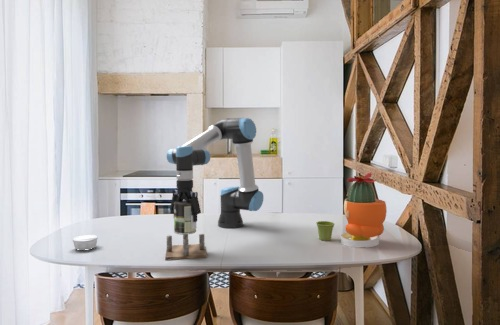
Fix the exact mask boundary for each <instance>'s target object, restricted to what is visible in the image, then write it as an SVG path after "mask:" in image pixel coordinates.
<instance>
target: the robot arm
mask: <svg viewBox="0 0 500 325" xmlns="http://www.w3.org/2000/svg"><path fill="white" fill-rule="evenodd" d="M256 135H257V127H256V124H255V122H254V121H253V120H252V119H251V118H249V117H231V118H223V119H220V120H219V121H217V122H215V123H213V124H211V125H210V126H208V128H207V130H205V131H204V132H202V133H200V134H199V135H197V136H195V137H194V138H191V140H189V141H187V142H186V143H184V144H182V145H179V146H176V148H170V149H169V150H167V152H166V160H167V162H168V163H170V164H172V165H173V164H174V165H176V168H175V169H176V179H177V180H176V188H177V189H174V190H172V197H171V201H170V203H171V204H170V207H169V210H170V211H172V212H173V213H174V202H175V201H177V202H181V201H183V200H186V202H188V204H190V203H193V205H194V206H191V212H192V215H191V229H196V230H197V222H198V215H199V214H202V211H201V206H200V202H199V198H198V195H199V193H198V191H193V187H194V180H193V179H194V166H204V165H208V163H210V162H211V153H210V151H209V150H207V149H206V148H207V147H210V145H212V144H214V143H217V142H219V141H221V140H231V141H232V145H234V147H235V151H236V160H237V168H238V175H239V184H240V185H239V186H228V187H223V188H221V190H220V195H219V196H220V213H219V214H220V215H219V218H218V220H217V226H218V227H220V228H223V229H235V228H240V227H243V225H244V220H243V217H242V213H241V210H242V211H250V212H256V211H259V210H260V209H261V207H262V205H263V203H264V193H263V192H262V191H261V190H259V186H258V185H257V184H256V179H255V171H254V159H253V153H252V143H253V142H254V139H255V138H256Z"/></svg>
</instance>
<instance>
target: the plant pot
mask: <svg viewBox="0 0 500 325" xmlns="http://www.w3.org/2000/svg"><path fill="white" fill-rule="evenodd" d="M315 224H316V226H317V231H318V232H317V233H318V240H320V241H325V242H327V241H331V240H332V235H333V230H334V226H335V223H334V221H333V222H332V221H328V220H321V221H317V222H316V223H315Z"/></svg>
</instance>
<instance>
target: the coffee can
mask: <svg viewBox="0 0 500 325" xmlns="http://www.w3.org/2000/svg"><path fill="white" fill-rule="evenodd" d="M191 206H194V205H193V203H190V204H188V202H186V200H183V201H181V202H177V201H175V202H174V212H173V221H174V225H173V229H174V230H173V232H174V234H176V235H181V236H183V235H187V234H188V235H192V234H195V233H197V228H196V229H191V215H192V212H191Z"/></svg>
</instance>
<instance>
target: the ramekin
mask: <svg viewBox="0 0 500 325" xmlns="http://www.w3.org/2000/svg"><path fill="white" fill-rule="evenodd" d="M98 239H99V238H98V235H95V234H85V235H83V234H82V235H78V236H75V237H73V238H72V242H73V247H74V249H75V250H76V249H79V250H85V249H91V248H94V247H95V248H96V247H97V243H98ZM95 248H94V249H95Z"/></svg>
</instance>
